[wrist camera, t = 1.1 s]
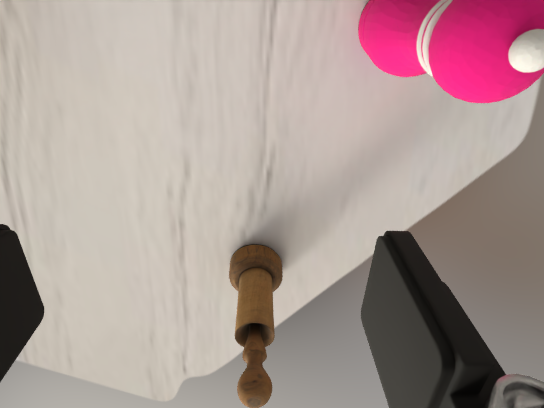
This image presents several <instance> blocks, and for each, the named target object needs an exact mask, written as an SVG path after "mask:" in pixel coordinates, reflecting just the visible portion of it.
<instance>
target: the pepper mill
mask: <svg viewBox="0 0 544 408" xmlns="http://www.w3.org/2000/svg"><path fill="white" fill-rule="evenodd" d="M359 39H360V43H361V45H362V47H363V49H364V51H365V52H366V53H367V54H368V55H369V57H370V58H371V60H372V61H373V63H374V64H375V65H376V66H377V67H378V68H379V69H381V70H382V71H384V72H386V73H389V74H392V75H396V76H400V77H411V76H417V75H422V74H425V73H428V74H429V75H431V76H432V77H434V78H435V80H436V82H437V83H438V85H439V86H440V87H441V88H442V89H443V90H444V91H446V92H447V93H449V94H450V95H452V96H453V97H455V98H458V99H461V100H464V101H467V102H473V103H491V102H497V101H501V100H504V99H507V98H510V97H512V96H514V95H517V94H518V93H520V92H522V91H523V90H525V89H527V88H528V87H529V86H531V85H532V84H533V83H534V82H535V81H536V80H538V79H539V78H540V76H541V75H542V74H543V73H544V0H369V2H368V3H367V5H366V6H365V8H364V10H363V12H362V14H361V17H360V21H359Z"/></svg>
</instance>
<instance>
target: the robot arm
mask: <svg viewBox="0 0 544 408" xmlns="http://www.w3.org/2000/svg"><path fill="white" fill-rule="evenodd" d="M43 316H44V306H43V303H42V301H41V298H40V295H39V292H38V290H37V287H36V284H35V282H34V279H33V276H32V274H31V271H30V268H29V266H28V263H27V260H26V257H25V255H24V252H23V249H22V247H21V244H20V241H19V239H18V236H17V234H16V232H14V231H12V230H10V228H9V227H8V226H7V225H4V224H0V382H1V380H2V379H3V377H4V376H5V374H6V373H7V371H8V370H9V368H10V367H11V365H12V364H13V363H14V361H15V360H16V358H17V357H18V355H19V354H20V352H21V351H22V349H23V348H24V346H25V345H26V343H27V342H28V340H29V339H30V337H31V336H32V334H33V333H34V331H35V330H36V328H37V327H38V326H39V324H40V323H41V321H42V319H43ZM361 319H362V324H363V327H364V330H365V333H366V336H367V340H368V343H369V346H370V349H371V352H372V355H373V358H374V361H375V365H376V368H377V371H378V374H379V377H380V380H381V383H382V387H383V390H384V392H385V396H386V399H387V402H388V405H389V408H544V382H542V381H540V380H537V379H535V378H532V377H530V376H525V375H520V374H509V375H506V374H505V372H504V371H503V369H502V368H501V366H500V365H499V363H498V362H497V360H496V359H495V357H494V356H493V354H492V353H491V351H490V350H489V348H488V347H487V345H486V343H485V342H484V340H483V339H482V338H481V336H480V334H479V333H478V331H477V330H476V329H475V327H474V325H473V324H472V322H471V321H470V319H469V318H468V316H467V315H466V313H465V312H464V310H463V309H462V307H461V305H460V304H459V302H458V301H457V299H456V298H455V296H454V295H453V293H452V292H451V290H450V289H449V287H448V286H447V285H446V284H445V283H444V282H442V281H441V279H440V278H439V276H438V275H437V273H436V271H435V270H434V268H433V267H432V265H431V264H430V262H429V261H428V259H427V258H426V256H425V255H424V253H423V252H422V250H421V248H420V247H419V245H418V244H417V242H416V241H415V239H414V237H413V236H412V234H411V233H410V232H408V231H386V232H385V234H384V236H379V237H378V238H377V242H376V246H375V251H374V255H373V260H372V264H371V268H370V273H369V278H368V282H367V286H366V291H365V295H364V299H363V304H362V308H361Z"/></svg>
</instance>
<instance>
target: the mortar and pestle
mask: <svg viewBox="0 0 544 408" xmlns="http://www.w3.org/2000/svg"><path fill="white" fill-rule="evenodd" d="M229 278H230V282H231V284H232V286H233V287H234V288H235V289H236V290H237V291H239V292H238V306H237V317H236V328H235V339H236V341H237V343H238V344H240V345H241V346H243V347H244V351H243V360H244V361H246V363H247V368H246V369H245V371H244V372H243V374H242V375H241V377H240V379H239V382H238V386H237V391H238V396H239V398H240V400H241V402H242V403H243V404H244V405H245V406H247V407H250V408H259V407H261V406H263V405H265V404H266V403H267V402H268V400H269V398H270V396H271V393H272V382H271V380H270V377H269V376H268V374H267V373H266V371H265V370H264V368H263V366H262V363H263V362H264V361H265V359H266V357H267V355H266V350H265V347H266V346H268V345H270V344H271V343H272V342H273V340H274V318H273V292H274V291H275V290H276V289H277V288H278V287H279V285H280V284H281V281H282V263H281V259H280V257H279V256H278V255H277V253H276V252H275V251H273V250H272V249H270V248H269V247H266V246H263V245H248V246H244V247H242V248H240V249H239V250H237V251H236V252H235V253H234V254H233V256H232V258H231V261H230V271H229Z"/></svg>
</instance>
